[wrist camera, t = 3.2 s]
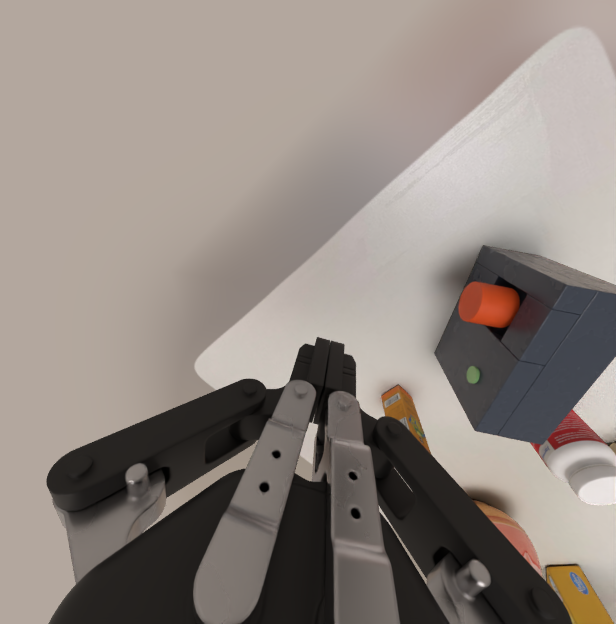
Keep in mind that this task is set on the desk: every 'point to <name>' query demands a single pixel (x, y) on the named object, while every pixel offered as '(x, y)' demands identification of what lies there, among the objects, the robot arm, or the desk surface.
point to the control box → (530, 346)
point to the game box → (577, 595)
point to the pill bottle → (581, 460)
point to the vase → (512, 533)
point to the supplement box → (404, 412)
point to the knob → (488, 304)
